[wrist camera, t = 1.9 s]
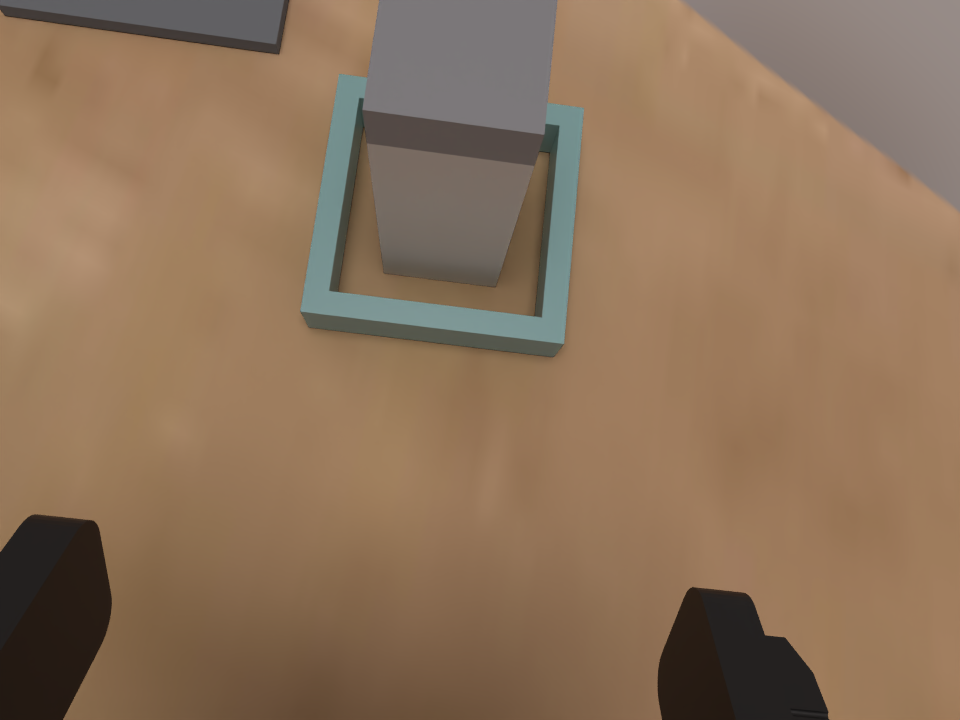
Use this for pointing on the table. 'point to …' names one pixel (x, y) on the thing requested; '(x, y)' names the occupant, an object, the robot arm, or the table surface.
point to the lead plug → (455, 130)
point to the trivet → (169, 19)
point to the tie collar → (435, 320)
